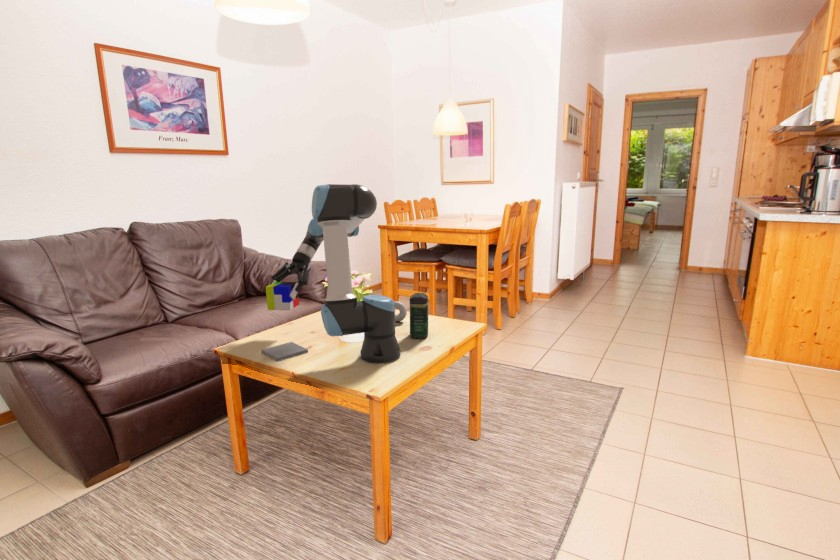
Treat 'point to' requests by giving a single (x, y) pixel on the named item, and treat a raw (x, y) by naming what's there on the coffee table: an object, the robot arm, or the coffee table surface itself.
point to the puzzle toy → (281, 296)
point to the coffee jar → (419, 315)
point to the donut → (402, 311)
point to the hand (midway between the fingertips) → (280, 295)
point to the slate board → (284, 351)
